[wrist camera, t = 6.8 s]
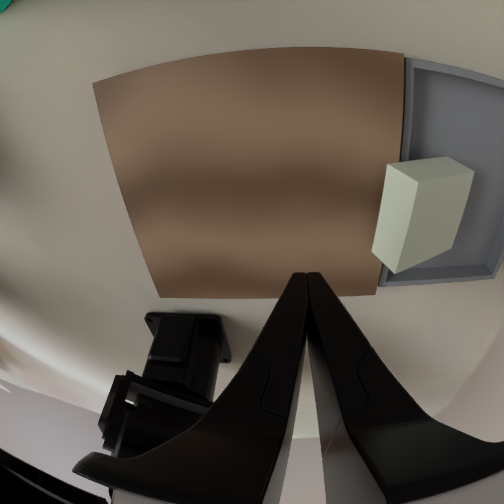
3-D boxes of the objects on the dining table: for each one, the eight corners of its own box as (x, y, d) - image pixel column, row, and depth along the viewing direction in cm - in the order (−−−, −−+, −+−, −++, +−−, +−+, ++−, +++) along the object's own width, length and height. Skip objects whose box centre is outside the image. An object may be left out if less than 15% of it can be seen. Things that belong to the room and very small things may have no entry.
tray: (485, 265, 18) (493, 278, 17) (373, 271, 20) (378, 286, 18) (529, 90, 10) (544, 96, 9) (394, 56, 11) (405, 58, 10)
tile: (429, 230, 17) (451, 248, 15) (371, 251, 16) (394, 274, 14) (447, 156, 14) (474, 171, 12) (387, 163, 12) (418, 182, 11)
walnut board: (369, 273, 20) (375, 294, 18) (168, 277, 21) (160, 297, 20) (388, 51, 11) (403, 53, 10) (111, 76, 13) (92, 83, 11)
